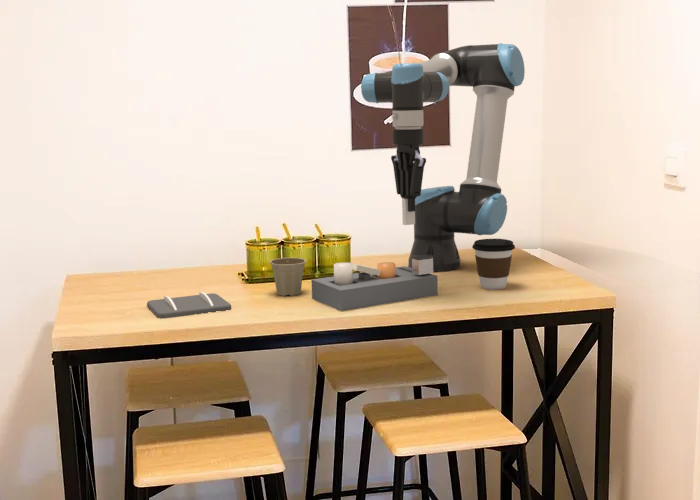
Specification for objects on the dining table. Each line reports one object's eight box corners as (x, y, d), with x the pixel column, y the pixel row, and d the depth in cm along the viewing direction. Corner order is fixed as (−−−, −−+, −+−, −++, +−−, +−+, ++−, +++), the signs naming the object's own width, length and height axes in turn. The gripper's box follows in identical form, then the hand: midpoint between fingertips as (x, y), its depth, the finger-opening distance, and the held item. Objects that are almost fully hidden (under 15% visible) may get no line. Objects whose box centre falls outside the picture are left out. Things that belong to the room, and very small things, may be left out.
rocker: (347, 267, 229) (348, 262, 229) (370, 272, 233) (371, 267, 233) (356, 270, 225) (357, 264, 225) (379, 275, 229) (380, 270, 229)
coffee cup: (519, 284, 242) (519, 239, 240) (508, 293, 233) (508, 246, 230) (479, 281, 247) (479, 237, 245) (466, 290, 237) (466, 244, 235)
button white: (331, 287, 228) (330, 263, 227) (347, 285, 230) (346, 261, 229) (340, 291, 224) (339, 266, 223) (356, 288, 226) (355, 264, 225)
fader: (411, 273, 233) (411, 255, 232) (426, 270, 235) (426, 253, 234) (418, 275, 230) (418, 257, 229) (433, 272, 232) (433, 255, 232)
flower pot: (312, 290, 241) (311, 258, 240) (299, 298, 232) (298, 265, 231) (279, 288, 244) (278, 256, 243) (265, 296, 235) (263, 263, 234)
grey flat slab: (215, 287, 236) (232, 299, 222) (216, 299, 237) (233, 311, 223) (145, 294, 229) (158, 307, 215) (146, 307, 230) (158, 321, 216)
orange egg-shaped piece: (374, 286, 234) (373, 263, 233) (389, 284, 236) (389, 261, 235) (383, 290, 230) (383, 266, 229) (399, 287, 232) (398, 264, 231)
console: (312, 298, 232) (311, 274, 230) (405, 284, 245) (404, 261, 244) (341, 310, 219) (340, 284, 218) (437, 295, 232) (437, 270, 231)
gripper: (381, 127, 227) (382, 222, 231) (408, 129, 215) (409, 229, 220) (407, 126, 230) (408, 219, 234) (435, 128, 219) (435, 226, 223)
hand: (408, 224), depth 227 cm, fingers closed
